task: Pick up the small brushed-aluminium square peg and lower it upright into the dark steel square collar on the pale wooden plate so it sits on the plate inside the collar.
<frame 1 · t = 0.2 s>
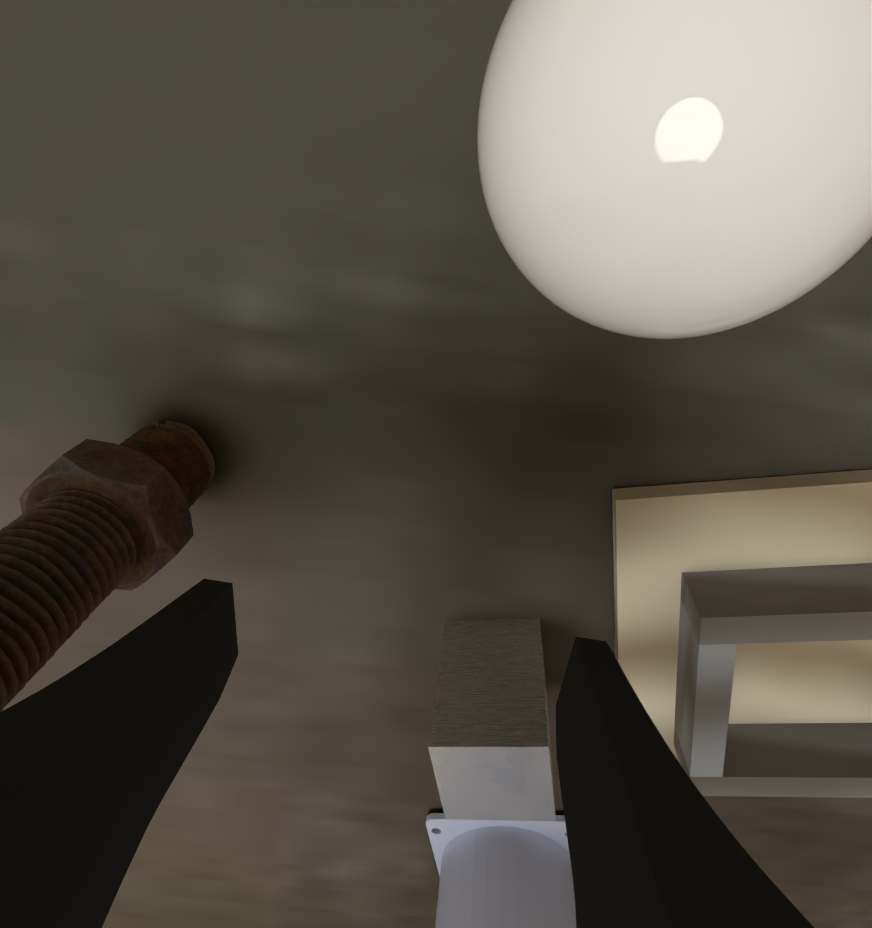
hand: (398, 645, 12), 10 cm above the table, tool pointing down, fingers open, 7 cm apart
bolt: (183, 451, 22), on the table
lightbulb: (604, 144, 16), on the table
socket base: (795, 646, 23), on the table
peg: (497, 654, 25), on the table
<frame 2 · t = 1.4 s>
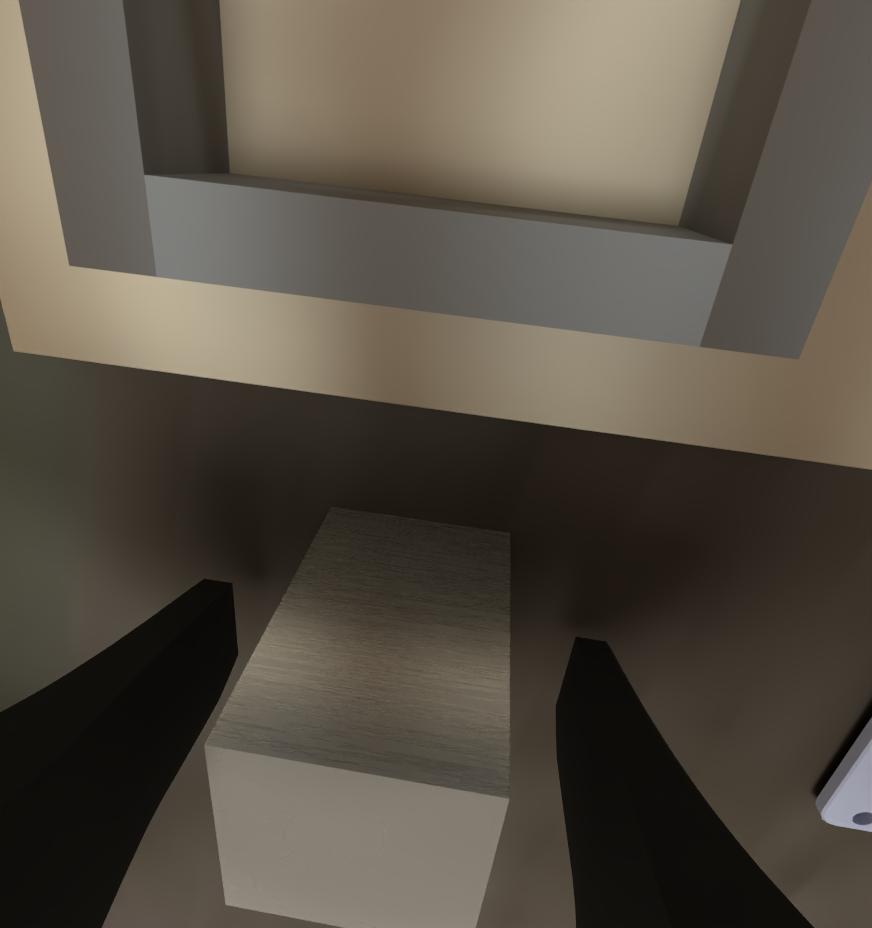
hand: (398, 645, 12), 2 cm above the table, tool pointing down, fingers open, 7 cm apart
peg: (412, 589, 14), on the table
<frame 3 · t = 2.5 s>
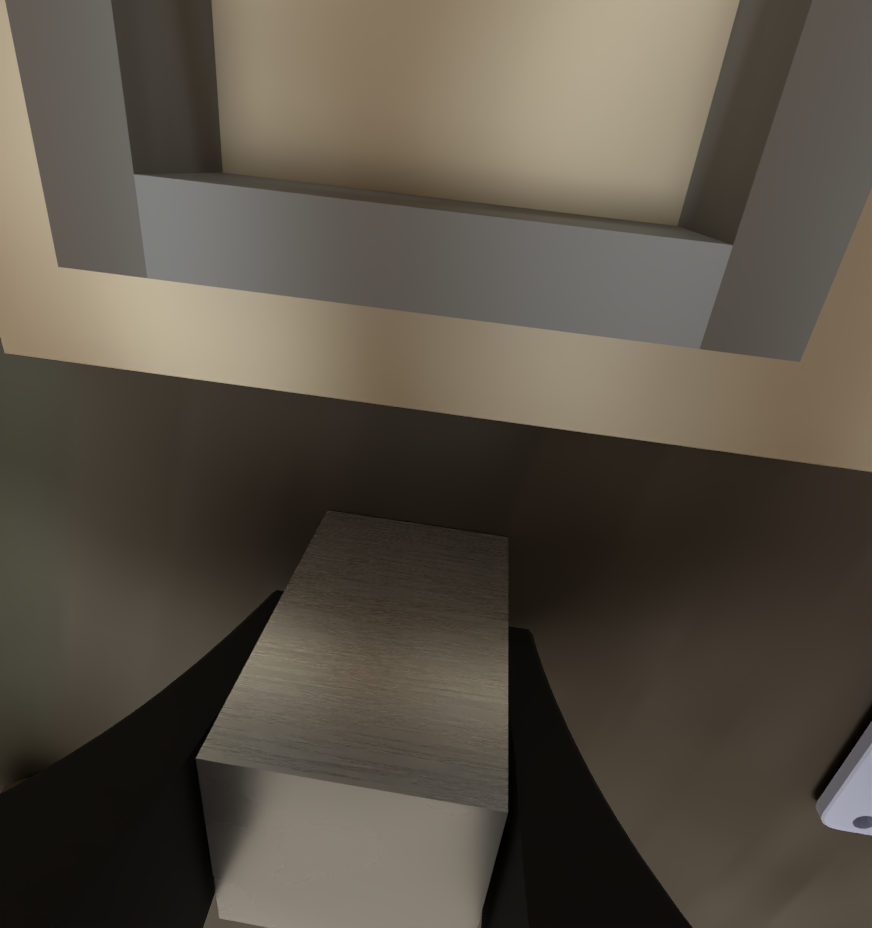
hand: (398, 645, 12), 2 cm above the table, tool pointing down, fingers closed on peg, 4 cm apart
peg: (409, 594, 13), on the table, touching gripper
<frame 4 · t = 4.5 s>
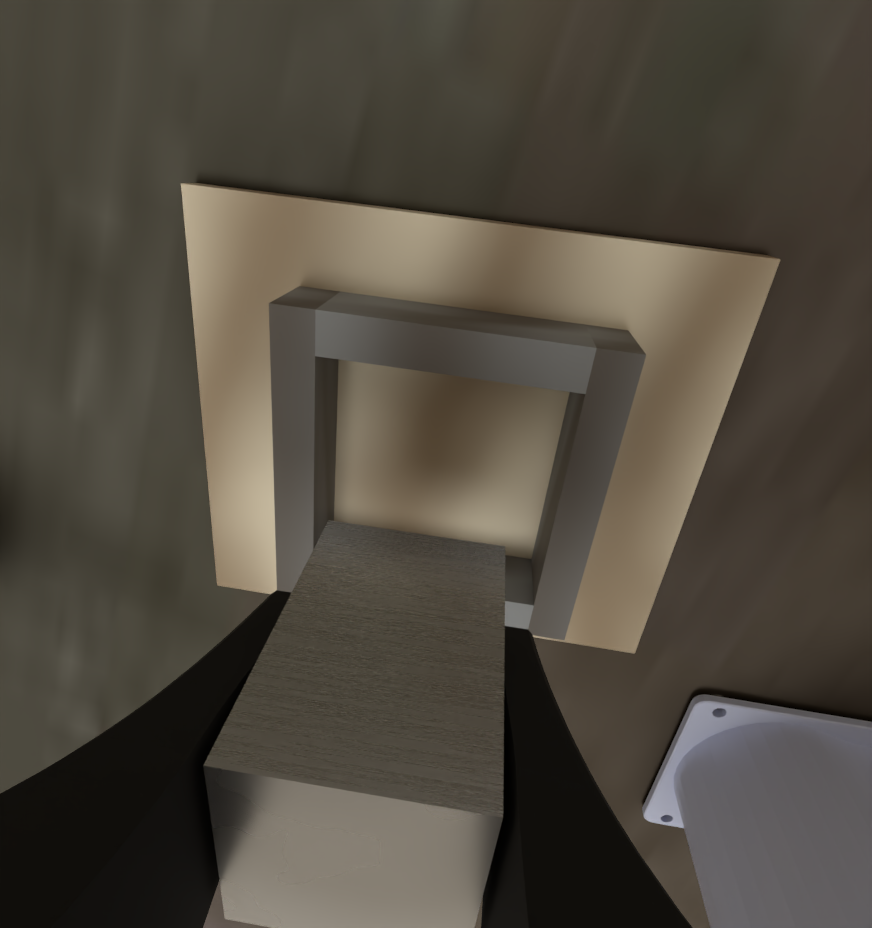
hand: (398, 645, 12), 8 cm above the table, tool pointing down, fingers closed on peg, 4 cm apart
socket base: (445, 444, 19), on the table
peg: (409, 601, 14), point 7 cm above the table, touching gripper
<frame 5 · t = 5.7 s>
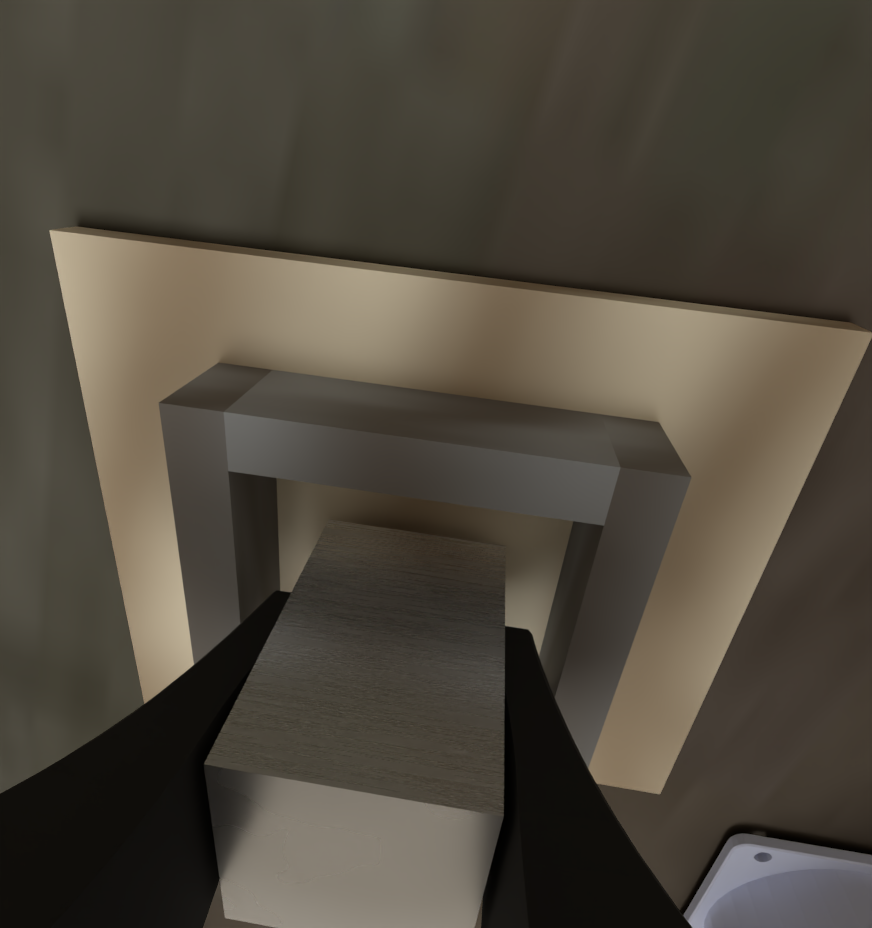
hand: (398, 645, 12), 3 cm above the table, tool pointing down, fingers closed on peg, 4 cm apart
socket base: (419, 549, 15), on the table
peg: (409, 601, 14), point 2 cm above the table, touching gripper
when the fingers open (3 cm above the table, at t = 6.6 s): peg stays where it is, resting on socket base.
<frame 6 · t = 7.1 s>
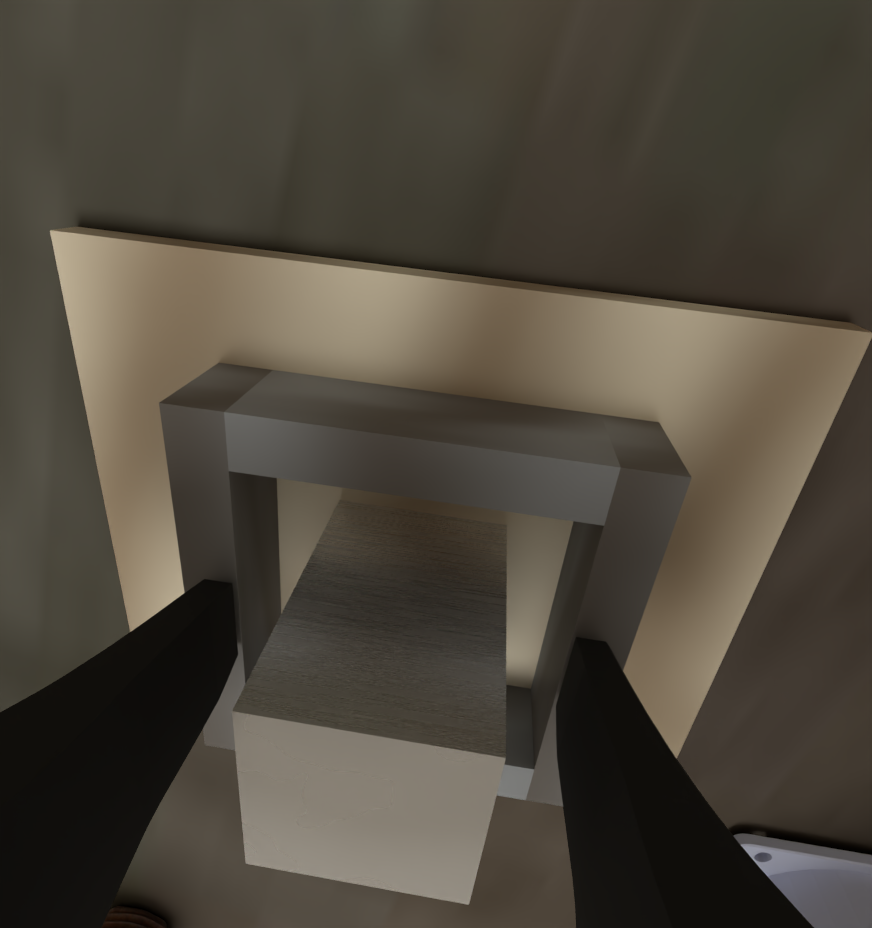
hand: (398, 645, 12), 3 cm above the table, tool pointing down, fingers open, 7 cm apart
bolt: (142, 914, 26), on the table
socket base: (420, 549, 15), on the table
peg: (415, 578, 14), point 1 cm above the table, touching socket base
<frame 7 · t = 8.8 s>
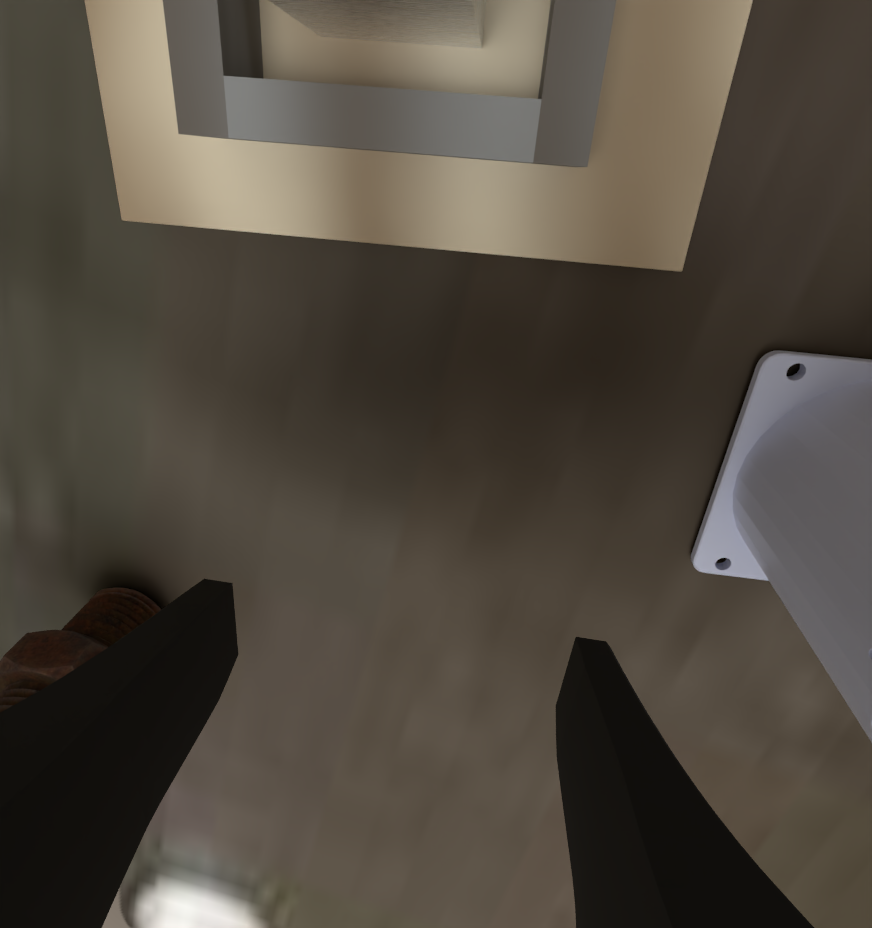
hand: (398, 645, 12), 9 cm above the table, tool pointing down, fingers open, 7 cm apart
bolt: (136, 605, 25), on the table
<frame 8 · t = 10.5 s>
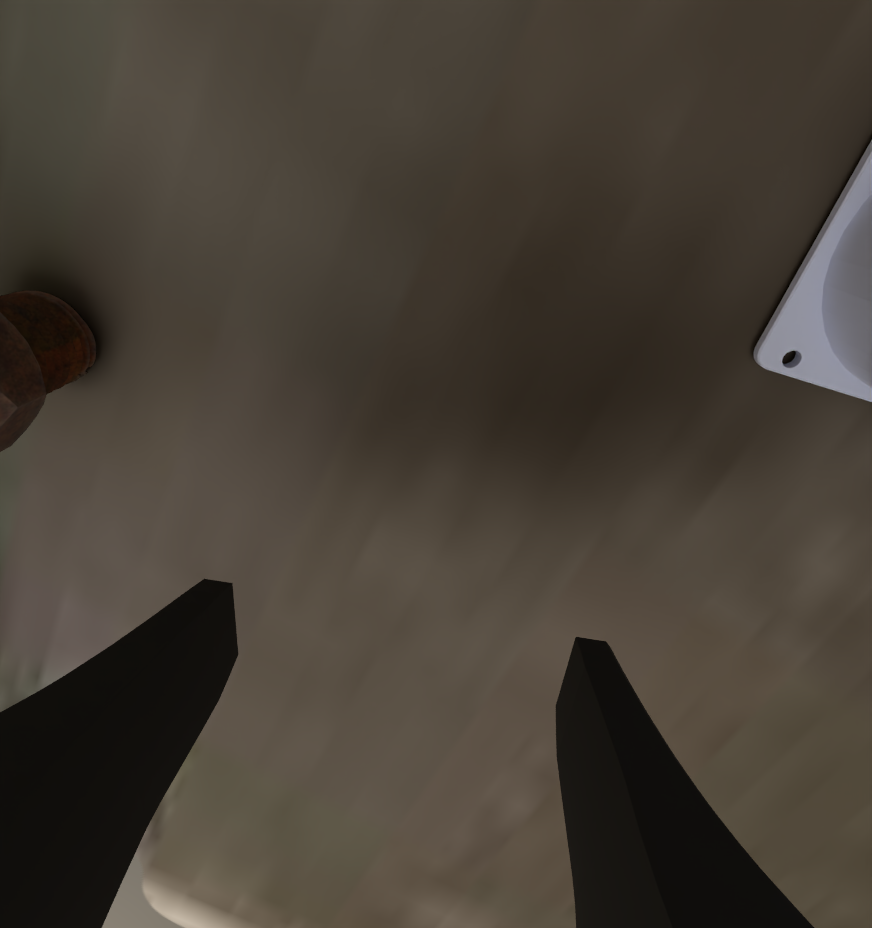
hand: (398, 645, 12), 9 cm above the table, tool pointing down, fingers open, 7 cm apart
bolt: (61, 332, 20), on the table
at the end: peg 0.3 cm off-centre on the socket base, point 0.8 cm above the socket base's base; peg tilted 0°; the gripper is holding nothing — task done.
